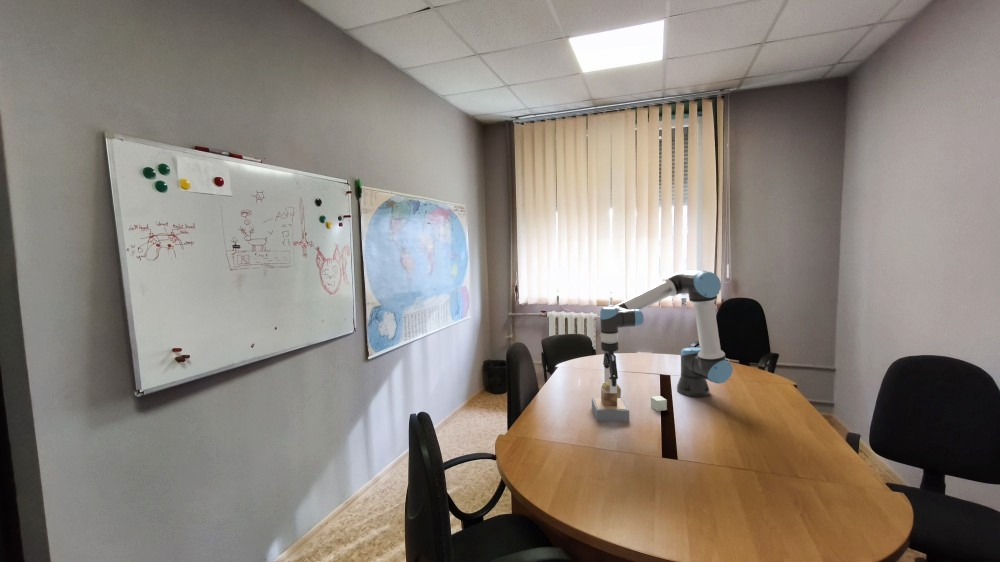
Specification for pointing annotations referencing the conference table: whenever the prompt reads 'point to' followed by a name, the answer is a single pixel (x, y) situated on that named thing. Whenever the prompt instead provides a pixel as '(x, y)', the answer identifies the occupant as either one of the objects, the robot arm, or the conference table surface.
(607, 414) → the plinth
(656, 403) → the sage cube
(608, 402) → the walnut cube
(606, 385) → the decorative item
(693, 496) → the conference table surface
